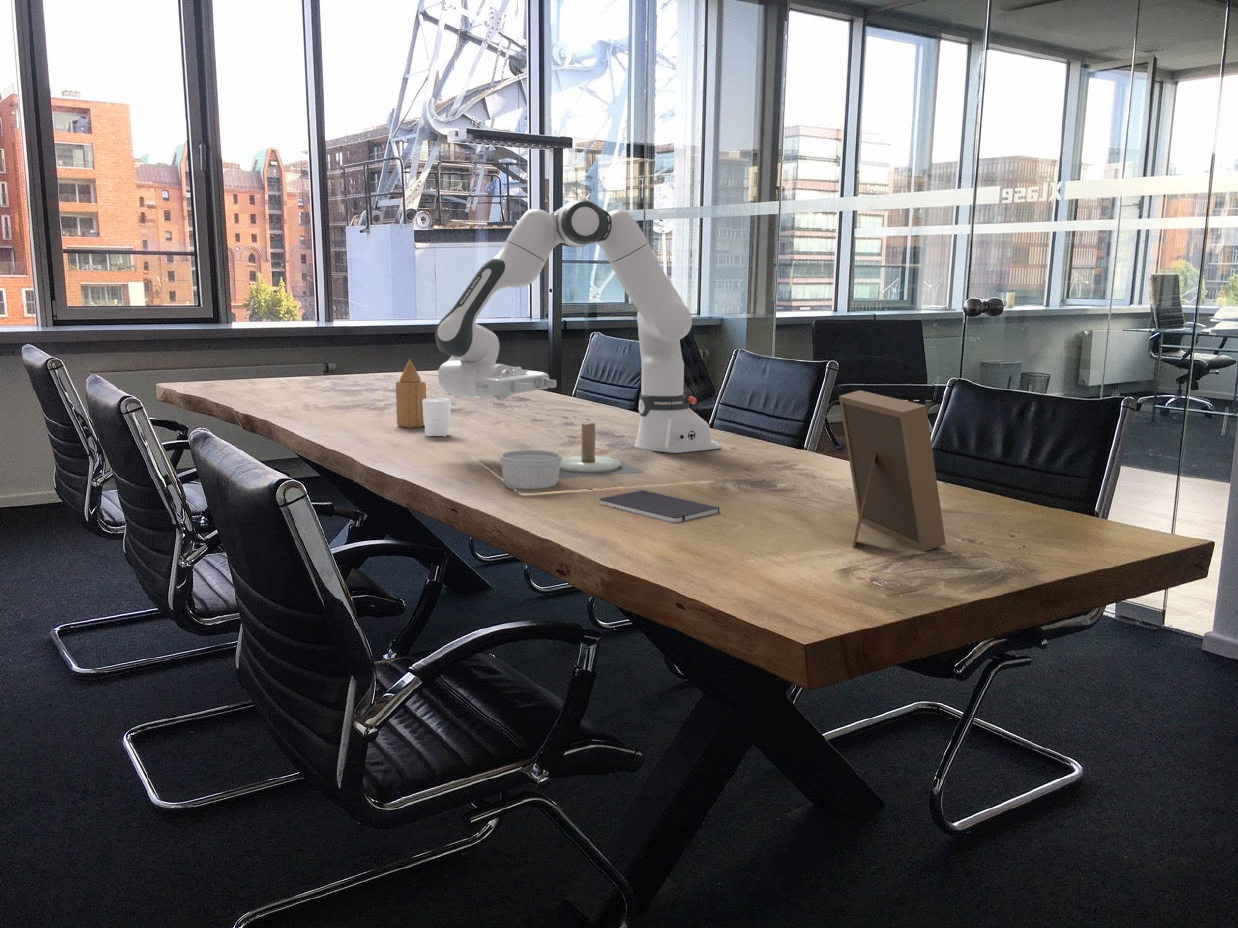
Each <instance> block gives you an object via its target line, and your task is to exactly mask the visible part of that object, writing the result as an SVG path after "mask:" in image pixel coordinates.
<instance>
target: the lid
mask: <svg viewBox="0 0 1238 928" xmlns="http://www.w3.org/2000/svg"><path fill="white" fill-rule="evenodd" d="M610 457H611V456H602V455H601V456H599V455H598V456H597V455H596V423H594V422H582V423H581V455H579V456H578V455H573V456H567V457H563V458H562V457H561V462H560V470H564V471H569V472H578V473H599V472H608V471H614V470H617V469H619V468H620V461H621V460H620V459H619V458H616V457H614V458H610ZM615 458H616V459H615ZM619 460H620V461H619Z"/></svg>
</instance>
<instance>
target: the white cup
mask: <svg viewBox="0 0 1238 928" xmlns="http://www.w3.org/2000/svg"><path fill="white" fill-rule="evenodd" d="M451 403H452V399H451V398H447V397H446V398H445V397H429V398H428V397H426V399H423V400H422V406H423V420H424V426H425V427H424V435H425V437H430V436H443V437H447V435H448V436H449V435H450V430H451V429H450V426H451V408H452V407H451V406H452V405H451Z"/></svg>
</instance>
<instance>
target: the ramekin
mask: <svg viewBox="0 0 1238 928" xmlns="http://www.w3.org/2000/svg"><path fill="white" fill-rule="evenodd" d="M561 459H562V455H561V453H560V452H559V453H558V452H555V451H551V450H544V449H518V450H510V451H505V452H503V453H501V454H500V455H499V461H500V463H501V464H500V465H501V473H502V479H503V483H504V485H505V486H506V487H507V489H510V488H511V490H513V489H516V490H515V491H518V489H523V490H524V489H525V490H527V489H528V490H533V489H544V488H545V489H546V488H550V487H554V486H556V485H557V484H558V481H559V469H560V462H561Z"/></svg>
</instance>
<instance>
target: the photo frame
mask: <svg viewBox="0 0 1238 928" xmlns="http://www.w3.org/2000/svg"><path fill="white" fill-rule="evenodd" d="M838 400H839V405H840V411H841V418H842V425H843V430H844V437H845V442H846V443H845V444H846V448H847V449H846V450H847V455H848V460H849V467H850V474H851V479H852V485H853V492H854V496H855V502H856V503H855V504H856V509H857V516H858V520H857V524H856V529H855V534H854V538H853V542H852V543H853V544H852V547H854V548H856V545H857V541H858V536H859V533H860V529H861V528H860V527H861V524H863V525H865V526H868V527H870V528H872V529H874V530H876V531H878V532H881V533H883V534H885V535H887V536H890V537H892V538H894V539H895V540H898V541H900V542H902V543H905V544H907V545H909V547H910V546H911V547H913V548H915V549H918V550H919V551H922V552H927V551H930V550H933V549H936V548H939V547H942V546H945V545H947V544H946V536H945V530H944V521H943V515H942V508H941V501H940V495H939V487H938V479H937V473H936V467H935V465H936V464H935V459H934V453H933V445H932V437H931V429H930V424H929V418H928V409H927V408H928V407H927V405H925V404H921V403H916V402H912V401H908V400H904V399H898V398H895V397H891V396H887V395H883V394H878V393H874V392H873V393H872V392H870V391H865V390H860V389H859V390H855V391H852V392H849V393H845V394H842V395H839V396H838Z"/></svg>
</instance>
